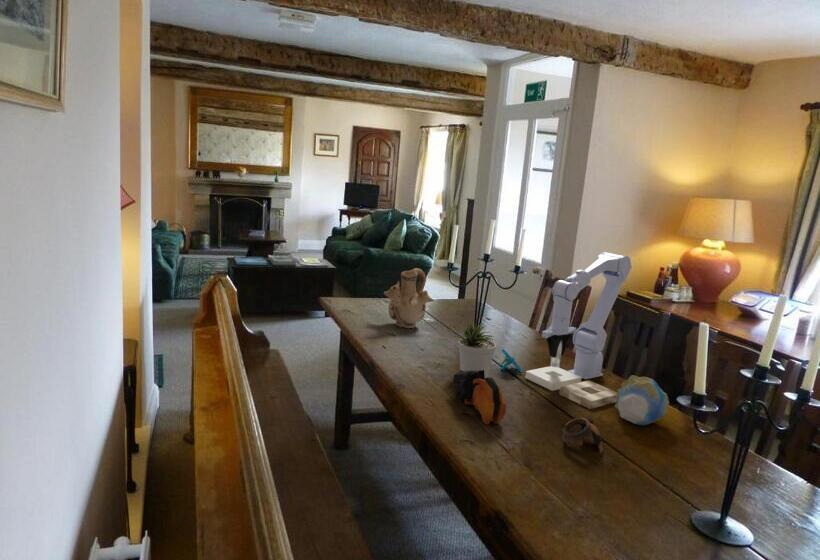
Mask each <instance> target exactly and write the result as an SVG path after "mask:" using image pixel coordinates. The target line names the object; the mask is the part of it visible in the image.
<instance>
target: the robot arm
mask: <svg viewBox="0 0 820 560" xmlns="http://www.w3.org/2000/svg"><path fill="white" fill-rule="evenodd" d="M631 269H632V262H631V258H630V257H629V256H628V255H621V254H616V253H611V252H608V251H604V252H603V251H602V252H601V253H600V254H598V255H597V258H596V261H594V262H593V263H592V264H590V265H589V266H588V267H587V268H585V270H584V269H577V270H576V271H575V272H574V273H572V274H571V275H569V276H568V277H566V278H565V279H564V280H563V279H559V280H557V281H555V283H554V284H553V286H552V288H551V293H552V296H553V298H552V300H553V310H552V317H551V325H550V326H548V329H546V330H542V331H541V337H542V338H544V339H546V343H547V346H548V347H547V348H548V353H549V356H550V358H551V357H554V358H555V357H556V355H557V350H558V347H559V344H560V342H561V340H563V345H562V352H561V357H563V356H564V355H565V351H566V349H567V347H568V346H569V344H570V343H571V341H572V343H573V345H574V348H575V350H576V351H575V358H574V366H573V369H569V370H567V371H568V372H571V373H573V374H575V375H578V376H580V377H582V379H584V380H588V379H593V378H598V377H602V376H603V373H602V367H603V361H604V355H603V353H602V352H603V350H604V348H605V345H606V339H607V337H608V334H607V333H606V330H605V329H604V326H605V324H606V321H607V319H608V317H609V315H610V313H611V310H612V309H613V307H614V306H613V305H614V304H615V302H616V300H617V298H618V295H619V293H620V291H621V288H622V287H623V284H624V282H625V281H627V278H628V276H629V274H630V271H631ZM600 274H602V276H603V278H605V281H606V282H605V283H604V286H603V288H602V290H601V292H600V295H599V297H598V299H597V300H596V304H595V305H594V307H593V310H592V312H591V314H590V316H589V319H588V321H586V322H583V323H580V325H579V327H578V328H577V327H574V326H570V323H571V322H570V321H571V318H572V317H571V315H572V309H573V307H572V306H573V302H574V301H573V300H575V299H576V298H578V297H577V296H578V294H579V293H580V292H581V290H582V289H584V288H586V287H587V286H588V285H590V283H591V279H593V278H595V277H596V276H598V275H600ZM570 334H573V335H570Z"/></svg>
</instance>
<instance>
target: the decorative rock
mask: <svg viewBox="0 0 820 560" xmlns="http://www.w3.org/2000/svg"><path fill="white" fill-rule="evenodd" d="M620 384H621V386H620V388H618V389H617V395H616V399H617V402H615V405H614V408H615V409H616V410H618V412H619V416H620V417H621V418H622V419H624V420H625V421H628V422H629V423H631V424H635V425H638V426H648V425H651V424H652V423H655V422H657V421H658V419H660V418H663V417H665V416H666V415H667V412H668V409H669V406H670V401H669V396H668V394H667V392H664V390H663V389H662V388H661V387H660V386H659V384H658V382H656V381H655V380H654V379H653V378H650V377H647V376H637V375H630V376H629V378H628V379H627V380H624V381H623V382H622V383H620Z"/></svg>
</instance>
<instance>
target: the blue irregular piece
mask: <svg viewBox="0 0 820 560" xmlns="http://www.w3.org/2000/svg"><path fill="white" fill-rule="evenodd" d="M500 351H501V352H502V353H503V354H504V358H503V361H501V362H500V363H499V366H500V370H502V371H503V370H505V369H506V368H508V366H510V365H511V364H512V365H514V367H515V368H516V369H517V370H518V371H519V372H522V371H523V369H522V368H521V367H520V365H519V364H518V363H517V362H516V361H515V357H512V356H511V355H510V354H509V353H508V352H507V351H506V350H505V349H504V348H502V349H500Z"/></svg>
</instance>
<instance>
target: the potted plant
mask: <svg viewBox="0 0 820 560" xmlns="http://www.w3.org/2000/svg"><path fill="white" fill-rule="evenodd" d="M466 321H467V322H466V323H467V325H466V329H465V328H464V327H462V326H461V325H460V324H459V327H460V328H461V329H462V331H463V335H464V336H465V337H463V336H461V335H459V334H456V336H457V337H458V338H459V339H458V338H457V337H456V338H455V337H454V339H455V340H457V343H458V344H457V345H458V349H459V352H458V353H459V367H460V371H461V370H463V371H472V370H474V371H479V370H484V376H485V378H488V375H489V372H490V367H491V364H492V361H493V357H494V354H495V351H496V348H497V343H495V342H494V339H493V335H488V334H485V333H489V334H490V333H492V332H491V331H483V332H482V330H484V328H486V327H487V325H486V324H485V325H483V323H481V324H479V325H478V326H477V325H476V323H475V324H474V326H473V320H472V321H469V320H468V319H466ZM476 326H477V327H476Z"/></svg>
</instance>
